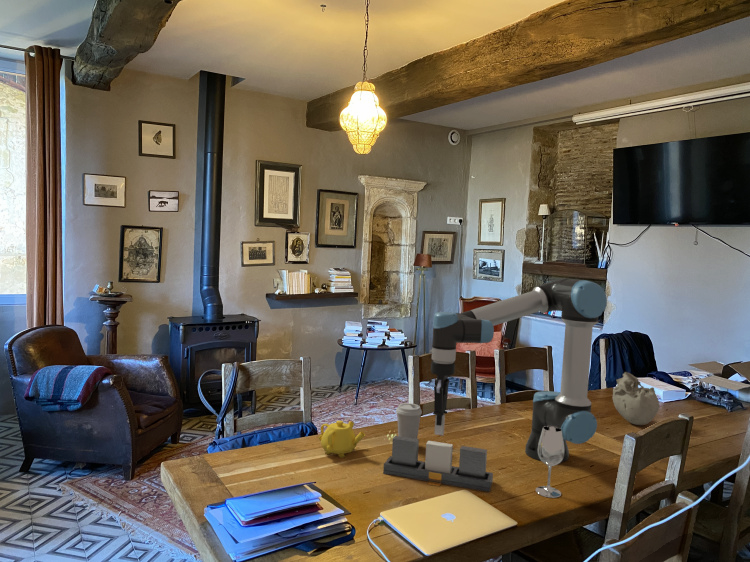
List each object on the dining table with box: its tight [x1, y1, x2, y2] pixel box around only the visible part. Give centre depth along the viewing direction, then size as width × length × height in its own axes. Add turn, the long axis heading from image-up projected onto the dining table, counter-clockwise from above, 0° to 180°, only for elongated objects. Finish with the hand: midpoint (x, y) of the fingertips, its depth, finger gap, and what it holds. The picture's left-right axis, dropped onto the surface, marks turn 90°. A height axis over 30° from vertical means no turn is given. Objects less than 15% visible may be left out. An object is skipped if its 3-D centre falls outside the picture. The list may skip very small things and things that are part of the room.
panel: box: [424, 440, 454, 474], centre depth 178 cm, size 8×3×10 cm, turn 71°
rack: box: [382, 435, 494, 493], centre depth 177 cm, size 34×10×11 cm, turn 72°
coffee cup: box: [395, 402, 423, 439], centre depth 205 cm, size 10×10×15 cm
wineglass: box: [535, 426, 564, 499], centre depth 170 cm, size 8×8×20 cm
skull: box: [612, 371, 661, 426], centre depth 244 cm, size 20×15×22 cm
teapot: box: [318, 420, 366, 458], centre depth 196 cm, size 14×14×11 cm
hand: (439, 434), depth 177 cm, fingers closed
